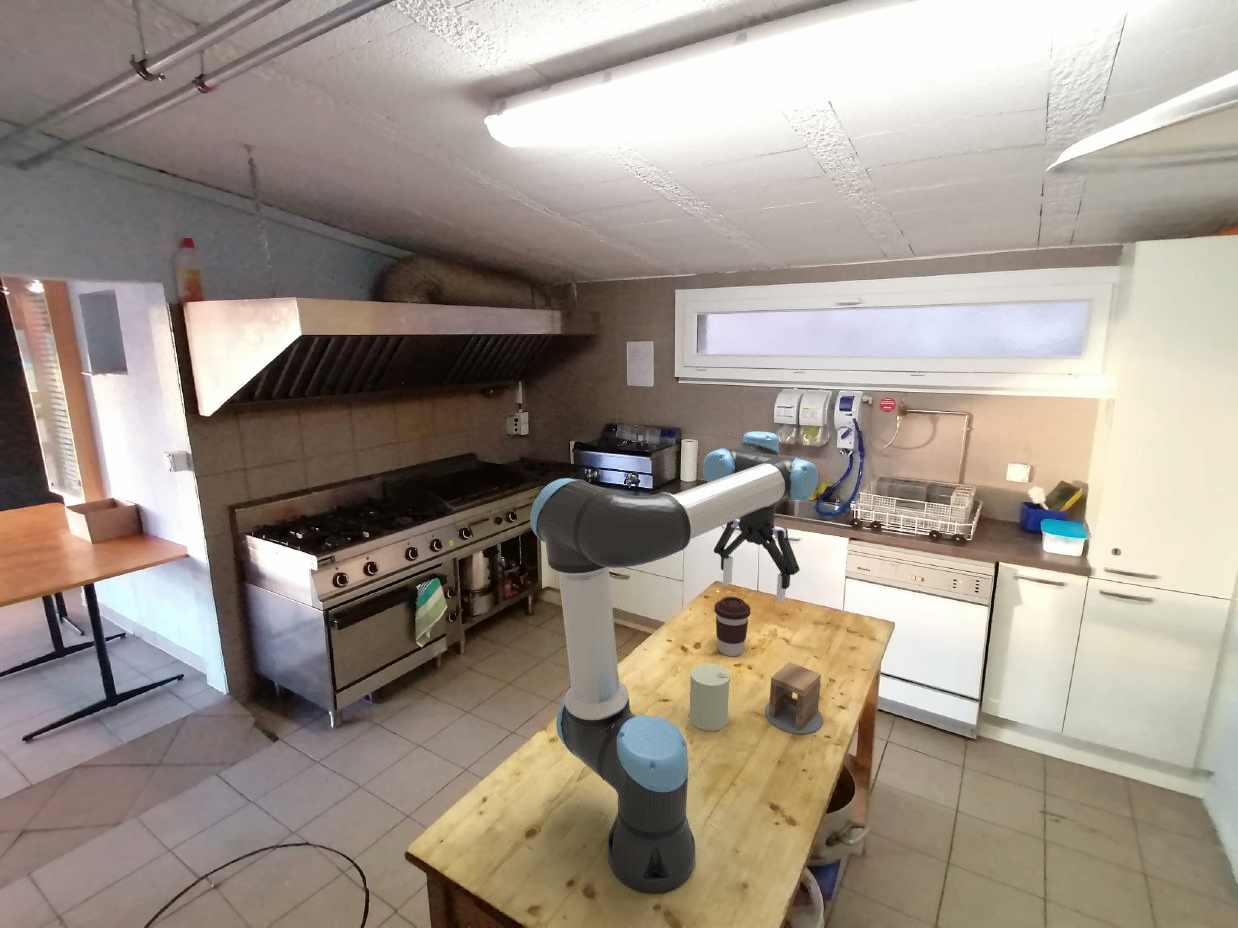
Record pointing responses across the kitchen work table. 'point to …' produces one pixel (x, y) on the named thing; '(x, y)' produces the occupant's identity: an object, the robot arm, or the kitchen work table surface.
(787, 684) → the wooden stool
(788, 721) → the rubber mat
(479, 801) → the kitchen work table surface
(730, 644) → the coffee cup
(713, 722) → the can
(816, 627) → the kitchen work table surface
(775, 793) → the kitchen work table surface
